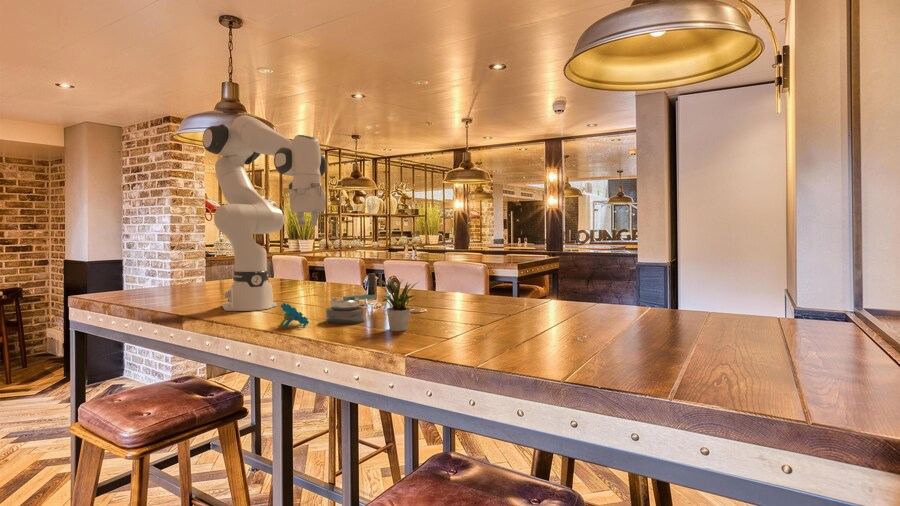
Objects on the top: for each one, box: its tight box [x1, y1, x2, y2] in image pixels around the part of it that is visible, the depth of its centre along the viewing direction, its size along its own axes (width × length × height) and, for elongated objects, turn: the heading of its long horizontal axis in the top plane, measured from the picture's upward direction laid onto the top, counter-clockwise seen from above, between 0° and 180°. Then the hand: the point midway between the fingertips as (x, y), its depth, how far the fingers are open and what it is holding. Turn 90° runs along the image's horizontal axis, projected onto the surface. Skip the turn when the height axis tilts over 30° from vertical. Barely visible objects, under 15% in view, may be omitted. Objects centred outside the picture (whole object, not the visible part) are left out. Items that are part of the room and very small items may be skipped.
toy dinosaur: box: [279, 302, 310, 329], centre depth 149 cm, size 11×6×10 cm
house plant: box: [378, 278, 420, 332], centre depth 145 cm, size 14×14×16 cm
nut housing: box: [325, 305, 365, 326], centre depth 159 cm, size 12×12×4 cm
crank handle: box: [330, 272, 377, 310], centre depth 160 cm, size 16×9×11 cm, turn 131°
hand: (307, 225), depth 163 cm, fingers open, 8 cm apart
